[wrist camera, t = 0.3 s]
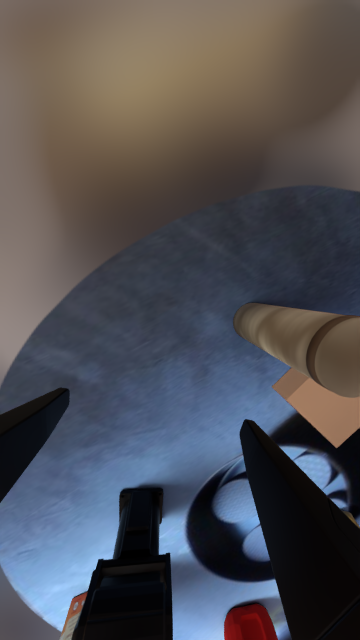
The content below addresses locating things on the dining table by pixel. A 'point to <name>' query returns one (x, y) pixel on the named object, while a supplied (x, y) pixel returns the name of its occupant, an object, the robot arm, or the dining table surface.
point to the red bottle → (249, 624)
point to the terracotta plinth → (320, 406)
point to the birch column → (307, 342)
